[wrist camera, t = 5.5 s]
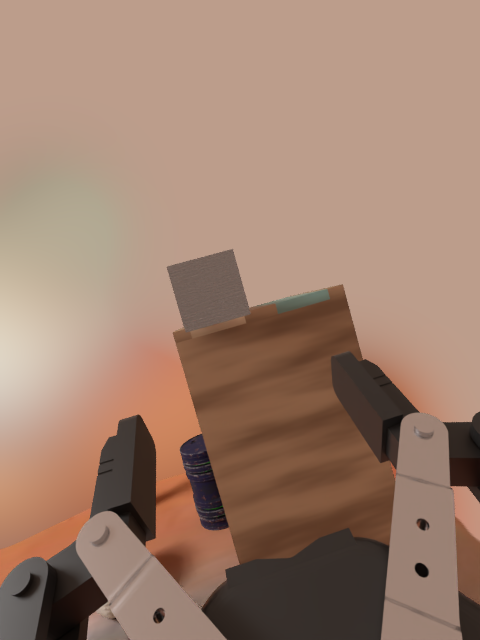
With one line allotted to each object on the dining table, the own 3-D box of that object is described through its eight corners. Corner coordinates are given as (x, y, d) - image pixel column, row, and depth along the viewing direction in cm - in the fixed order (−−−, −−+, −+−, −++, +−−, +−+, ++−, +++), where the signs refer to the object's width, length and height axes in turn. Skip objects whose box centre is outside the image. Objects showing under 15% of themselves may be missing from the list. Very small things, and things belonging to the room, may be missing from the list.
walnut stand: (444, 665, 32) (342, 284, 31) (286, 726, 31) (172, 332, 30) (361, 539, 50) (294, 295, 49) (259, 575, 49) (187, 325, 47)
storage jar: (256, 499, 68) (237, 429, 67) (231, 534, 60) (208, 454, 59) (218, 495, 73) (199, 430, 73) (190, 527, 65) (168, 454, 64)
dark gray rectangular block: (250, 314, 20) (232, 249, 20) (185, 332, 20) (166, 266, 20) (228, 313, 48) (220, 286, 48) (201, 321, 48) (193, 294, 47)
